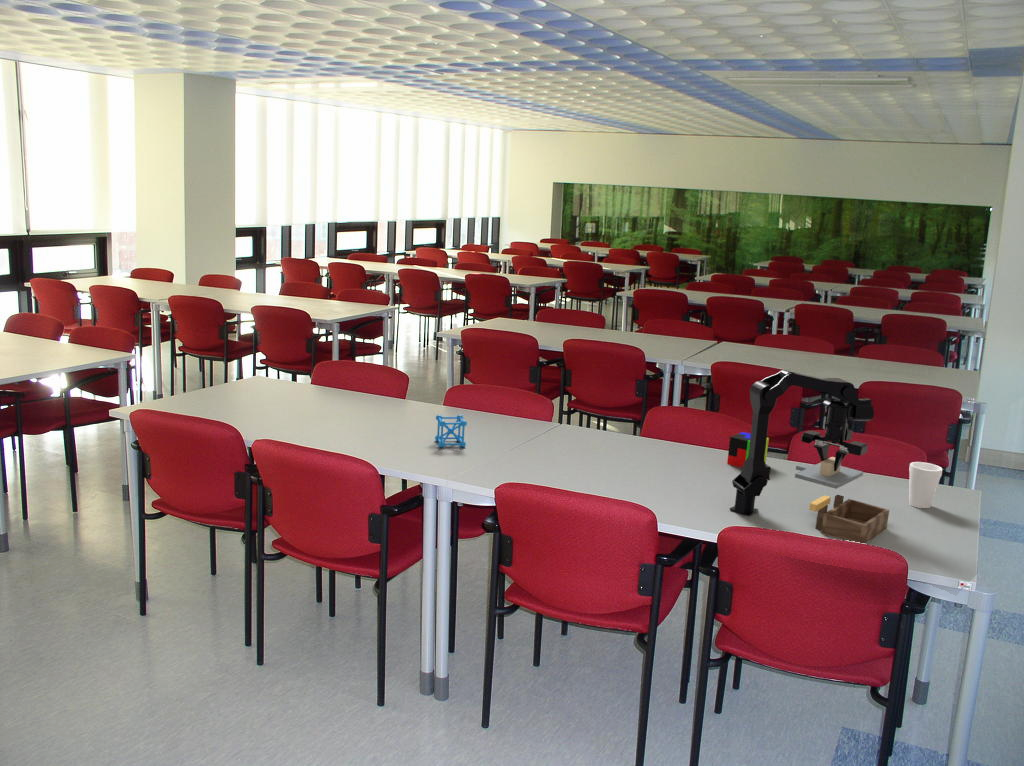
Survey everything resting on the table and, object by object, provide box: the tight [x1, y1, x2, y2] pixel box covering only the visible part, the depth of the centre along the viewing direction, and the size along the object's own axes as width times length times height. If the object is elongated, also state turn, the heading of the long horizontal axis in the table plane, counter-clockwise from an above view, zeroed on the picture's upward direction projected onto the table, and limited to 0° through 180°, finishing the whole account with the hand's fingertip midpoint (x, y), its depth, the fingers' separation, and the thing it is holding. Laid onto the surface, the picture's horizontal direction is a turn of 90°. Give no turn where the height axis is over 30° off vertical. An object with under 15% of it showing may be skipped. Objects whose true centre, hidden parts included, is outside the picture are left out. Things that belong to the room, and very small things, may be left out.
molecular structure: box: [434, 414, 468, 449], centre depth 324 cm, size 10×10×10 cm
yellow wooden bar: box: [808, 494, 831, 512], centre depth 259 cm, size 10×2×2 cm, turn 139°
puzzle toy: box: [726, 431, 770, 468], centre depth 320 cm, size 10×10×10 cm
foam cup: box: [908, 461, 943, 509], centre depth 287 cm, size 10×9×13 cm
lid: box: [794, 456, 864, 490], centre depth 278 cm, size 20×16×5 cm
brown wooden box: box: [815, 494, 890, 544], centre depth 263 cm, size 19×15×7 cm
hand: (830, 469), depth 277 cm, fingers closed on lid, 3 cm apart
